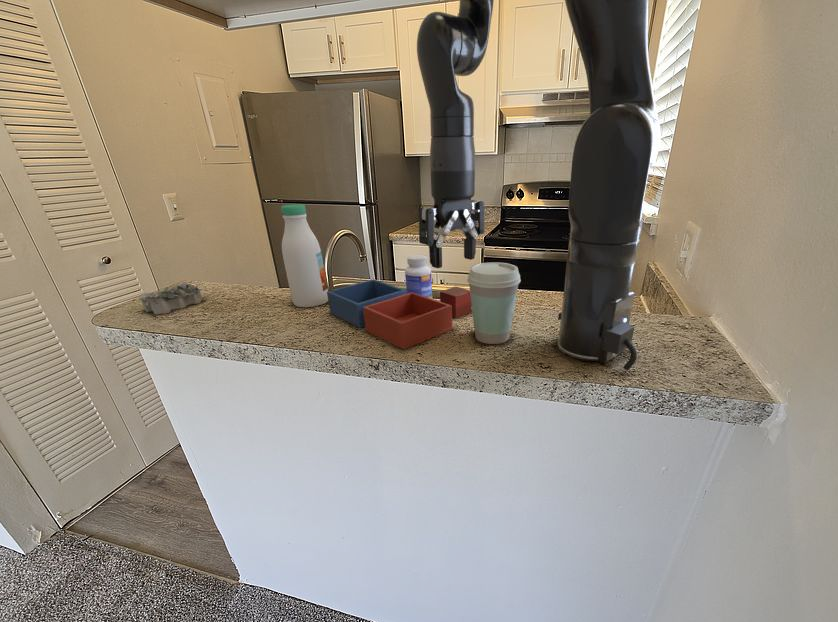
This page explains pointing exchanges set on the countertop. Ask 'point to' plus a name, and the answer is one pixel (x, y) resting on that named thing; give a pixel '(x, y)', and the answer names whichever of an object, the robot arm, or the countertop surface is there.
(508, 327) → the coffee cup
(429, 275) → the pill bottle
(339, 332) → the countertop surface
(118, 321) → the countertop surface
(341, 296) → the blue bin
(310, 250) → the milk bottle
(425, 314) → the red bin
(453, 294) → the red block
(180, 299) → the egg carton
